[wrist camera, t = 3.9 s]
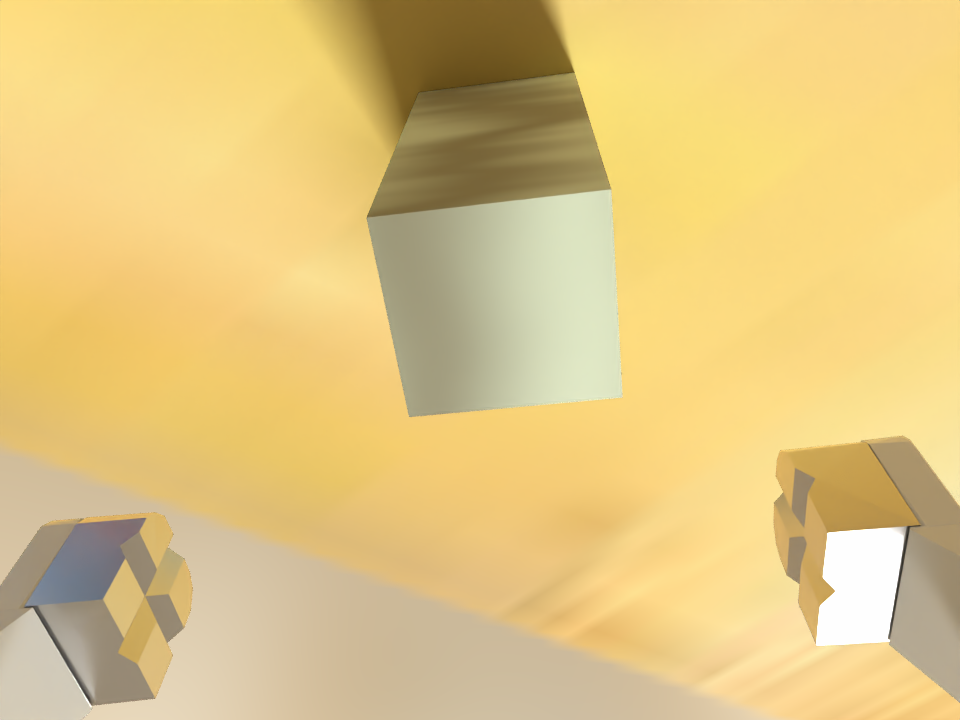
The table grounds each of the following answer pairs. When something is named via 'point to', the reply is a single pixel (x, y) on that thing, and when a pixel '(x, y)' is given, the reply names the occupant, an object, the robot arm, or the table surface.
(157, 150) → the table surface
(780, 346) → the table surface
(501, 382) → the sage wooden block
